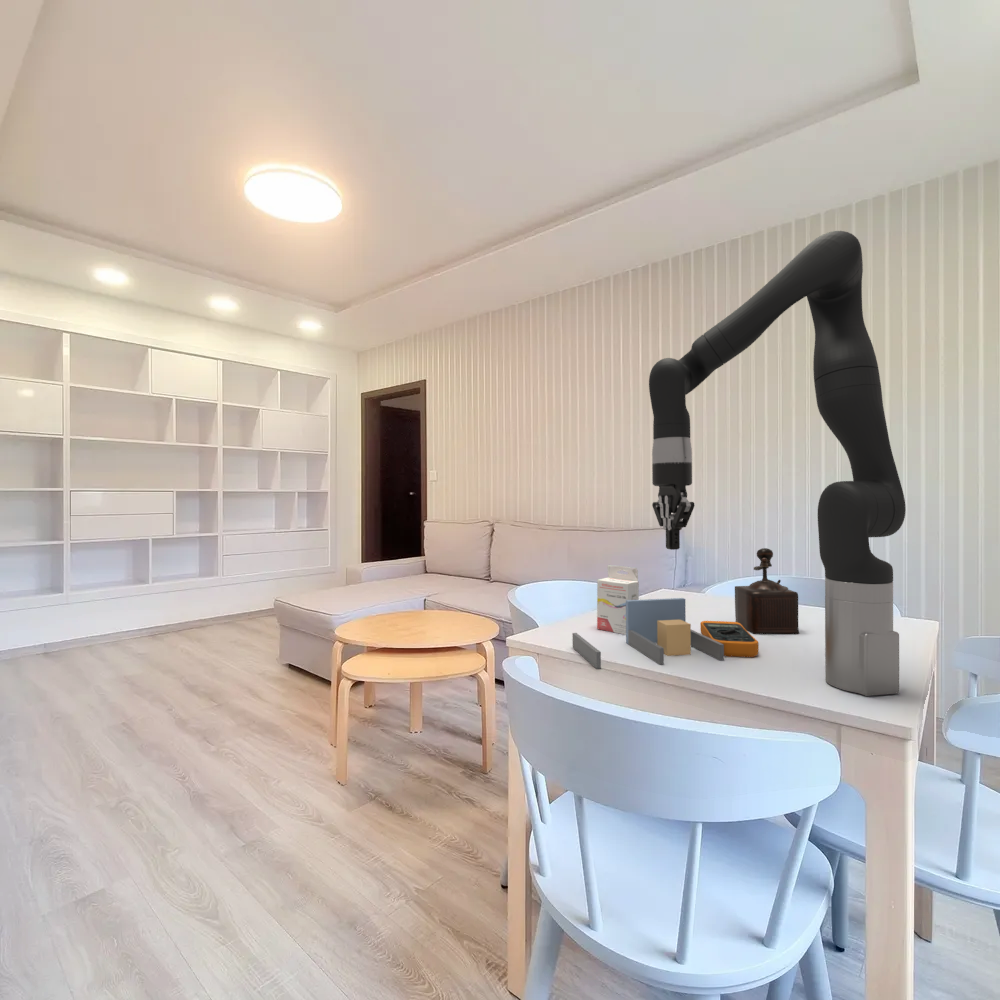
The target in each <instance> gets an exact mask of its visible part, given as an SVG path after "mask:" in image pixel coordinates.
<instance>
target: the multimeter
mask: <svg viewBox="0 0 1000 1000" xmlns="http://www.w3.org/2000/svg"><path fill="white" fill-rule="evenodd" d="M750 633H751V632H749V631H747V630H746V629H745V628H744V627H743V626H742V625H741V624H740V623H738V622H735V621H724V620H723V621H722V620H721V621H719V620H702V621H700V634H702V635H704V636H706V637H709V638H711V639H713V640H715V641H717V642H720V643H722V644H724V657H735V658H754V657H757V655H758V654H759V650H760V649H759V645H760V644H759V641H758V640H757V638H755V637H754V636H753V635H752V633H751V634H750Z"/></svg>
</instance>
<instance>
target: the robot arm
mask: <svg viewBox="0 0 1000 1000" xmlns="http://www.w3.org/2000/svg"><path fill="white" fill-rule="evenodd" d="M863 266H864V265H863V252H862V245H861V242H860V241H859V239H858V238H857V237H856V236H855V235H854V234H853V233H850V232H849V231H845V230H833V231H829V232H826V233H824V234H822V235H819V236H818V237H816V238H814V240H812V241H811V242H810V243H808V244H807V245H806V246H805V247H803V249H802V250H801V251H800V252H799V253H798V254H796V256H794V257H793V259H791V260H790V261H789V262H788V263H787V264H786V265H785V266H784V267H783V268H782V270H780V271H779V272H778V273H777V274H776V275H775V276H773V278H771V279H770V280H769V281H768V282H767V283H766V284H765V285H763V286H762V288H760V289H759V290H758V291H757V292H756V293H755V294H753V295H752V296H751V297H750V298H749V299H748V300H746V301H745V302H744V303H743V304H741V305H740V306H739V307H738V308H737V309H735V310H734V311H733V312H731V313H730V314H729V315H727V316H726V317H724V319H722V320H721V321H719V322H718V323H716V324H715V325H713V326H712V327H711V328H710V329H708V330H706V331H705V332H704V333H703V334H701V335H700V336H698V338H696V339H695V340H694V341H693V343H692V345H691V349H690V350H689V351H687V353H686V354H684V355H683V356H682V357H681V358H680V359H676V358H673V357H665V358H662V359H659V360H658V361H657V362H656V363H655V364H654V365H653V366H652V368H651V370H650V373H649V377H648V378H649V379H648V390H649V391H648V392H649V397H650V404H651V409H652V416H653V420H652V421H653V424H652V425H653V427H652V430H653V431H652V432H653V435H652V436H653V437H652V438H653V440H652V441H653V443H652V449H651V450H652V451H651V452H652V453H651V457H652V458H651V461H652V463H651V464H652V465H651V467H652V468H651V469H652V471H651V472H652V475H651V476H652V479H651V480H652V485H653V486H654V487H659V488H658V493H657V496H658V499H657V501H653V502H652V505H651V506H652V508H653V511H654V514H655V517H656V519H657V522H658V525H659V527H662V528H663V530H664V531H665V548H666V549H668V550H674V551H675V550H680V548H681V547H680V545H681V544H680V543H681V542H680V538H681V537H680V531H681V530H682V529H683V528H686V527H687V525H688V524H689V521H690V518H691V516H692V513H693V511H694V509H695V502H694V501H689V499H688V491H687V488H686V487H687V486H691V485H692V484H693V450H692V449H693V448H692V443H691V416H690V413H689V411H688V408H687V404H686V402H687V401H686V398H687V397H686V395H688V394H689V393H691V392H692V391H694V390H695V389H696V388H698V387H699V386H700V385H701V384H702V383H703V382H704V381H706V380H707V378H708V377H709V376H711V375H712V373H714V372H715V371H716V370H717V369H719V368H720V367H722V366H724V365H725V364H726V363H728V362H730V361H731V360H733V359H734V358H735V357H737V356H739V355H740V354H741V353H743V352H744V351H745V350H746V349H748V348H749V347H750V346H752V345H753V344H754V342H756V341H757V340H758V339H759V338H760V337H761V336H762V335H763V334H764V333H765V332H766V330H767V329H769V327H770V326H772V324H773V323H774V322H775V321H776V320H777V319H778V318H779V317H780V316H781V315H783V313H785V312H786V311H787V310H789V309H790V308H791V307H792V306H794V305H795V304H796V303H799V301H800V300H801V301H802V299H804V298H805V297H806V299H807V303H808V305H809V310H810V313H811V318H812V322H813V326H814V327H813V328H814V348H813V349H814V350H813V361H812V362H813V366H812V367H813V368H812V369H813V382H814V391H815V398H816V404H817V405H816V406H817V410H818V412H819V414H820V416H821V418H822V419H823V421H824V423H825V425H827V427H828V429H829V430H830V431H831V432H832V434H833V436H835V438H836V439H837V441H838V442H839V443H840V444H841V446H842V448H843V450H844V451H845V453H846V455H847V458H848V461H849V464H850V468H851V474H852V480H845V481H844V480H843V481H835V482H833V483H830V484H828V485H827V486H826V487H825V488H824V490H823V491H822V492H821V494H820V497H819V500H818V505H817V528H818V531H817V532H818V543H819V556H820V560H821V563H822V565H823V568H824V585H825V586H824V595H825V596H824V600H825V601H824V605H825V606H824V608H825V609H824V611H825V612H824V613H825V614H824V628H825V629H824V640H825V641H824V644H825V645H824V648H825V649H824V650H825V651H824V652H825V653H824V657H825V661H824V663H825V666H824V667H825V673H824V674H825V676H824V677H825V682H826V683H827V684H829V685H831V686H832V687H834V688H837V689H839V690H843V691H847V692H851V693H856V694H861V695H862V696H865V697H870V696H873V697H874V696H882V695H893V694H894V695H896V694H900V633H899V632H897V631H895V630H894V582H893V581H894V568H893V566H892V564H891V563H889V562H888V561H885V560H883V559H881V558H878V557H877V556H876V555H874V553H872V551H871V547H870V540H869V539H870V538H885V537H889V536H892V535H894V534H896V533H897V532H898V531H899V530H900V529H901V527H902V525H903V524H904V521H905V517H906V512H907V511H906V507H907V506H906V500H905V495H904V491H903V486H902V483H901V480H900V477H899V473H898V469H897V466H896V462H895V458H894V456H893V452H892V447H891V441H890V437H889V431H888V430H889V429H888V426H887V419H886V415H885V409H884V401H883V391H882V385H881V376H880V371H879V364H878V360H877V356H876V353H875V349H874V345H873V343H872V340H871V338H870V336H869V332H868V330H867V328H866V324H865V321H864V320H865V319H864V315H863V314H864V312H863V295H862V294H863V292H862V291H863V289H862V287H863V286H862V285H863V272H864V268H863Z"/></svg>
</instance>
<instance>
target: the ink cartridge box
mask: <svg viewBox="0 0 1000 1000" xmlns="http://www.w3.org/2000/svg"><path fill="white" fill-rule="evenodd" d="M621 571H623V572H626V574H625V573H619V572H621ZM638 573H639V571H638V568H637V567H629V566H624V565H623V566H621V565H610V564H608V565H607V577H603V578H599V579H597V580H596V581H597V584H596V587H597V589H596V590H597V591H596V593H597V594H596V595H597V597H596V600H597V601H596V607H597V609H596V611H597V612H596V618H597V619H596V622H597V623H596V629H597V630H602V631H607V632H611V633H616V634H620V635H625V636H626V600H640V598H639V597H640V595H639V592H640V588H639V587H640V584H639V583H640V582H639V575H638Z"/></svg>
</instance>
